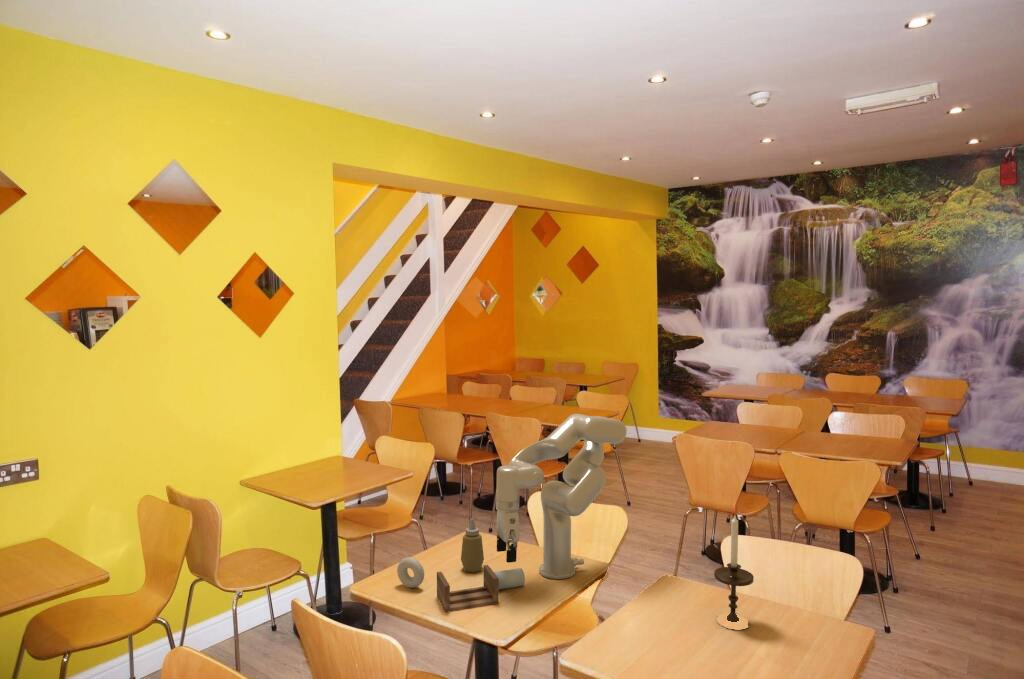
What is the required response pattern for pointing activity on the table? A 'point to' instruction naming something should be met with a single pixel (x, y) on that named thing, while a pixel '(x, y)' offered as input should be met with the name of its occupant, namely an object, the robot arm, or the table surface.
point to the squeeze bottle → (472, 549)
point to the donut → (415, 567)
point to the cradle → (468, 593)
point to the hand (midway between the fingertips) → (506, 556)
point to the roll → (510, 578)
